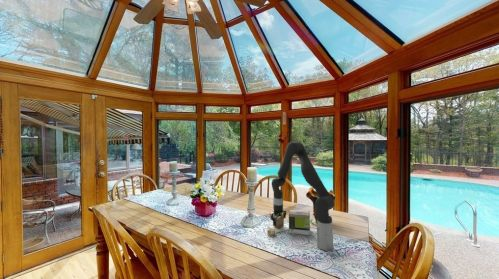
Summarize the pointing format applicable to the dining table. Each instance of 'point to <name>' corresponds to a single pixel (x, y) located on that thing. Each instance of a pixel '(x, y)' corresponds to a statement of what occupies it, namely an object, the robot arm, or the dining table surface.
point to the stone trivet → (279, 228)
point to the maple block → (271, 232)
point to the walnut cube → (279, 222)
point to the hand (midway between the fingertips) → (278, 224)
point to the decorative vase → (313, 197)
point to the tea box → (299, 222)
